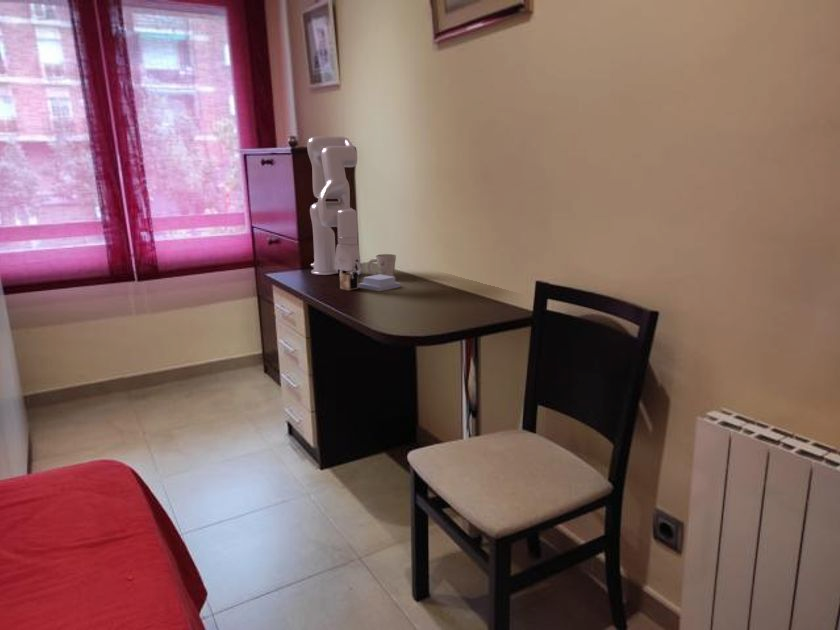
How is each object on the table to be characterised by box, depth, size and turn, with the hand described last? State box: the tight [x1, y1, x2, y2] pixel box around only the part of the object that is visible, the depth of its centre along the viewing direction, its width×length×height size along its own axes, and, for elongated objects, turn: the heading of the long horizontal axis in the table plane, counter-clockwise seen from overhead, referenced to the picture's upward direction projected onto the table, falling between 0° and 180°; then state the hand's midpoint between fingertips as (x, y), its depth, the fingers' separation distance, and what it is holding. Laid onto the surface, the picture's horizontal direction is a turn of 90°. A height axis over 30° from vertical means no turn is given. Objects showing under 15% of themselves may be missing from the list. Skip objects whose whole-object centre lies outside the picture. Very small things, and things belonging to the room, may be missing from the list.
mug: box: [366, 253, 397, 277], centre depth 253 cm, size 8×13×10 cm, turn 89°
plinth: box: [358, 274, 402, 292], centre depth 236 cm, size 12×12×4 cm
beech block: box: [339, 271, 359, 291], centre depth 233 cm, size 5×5×6 cm
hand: (349, 286), depth 234 cm, fingers closed on beech block, 5 cm apart
